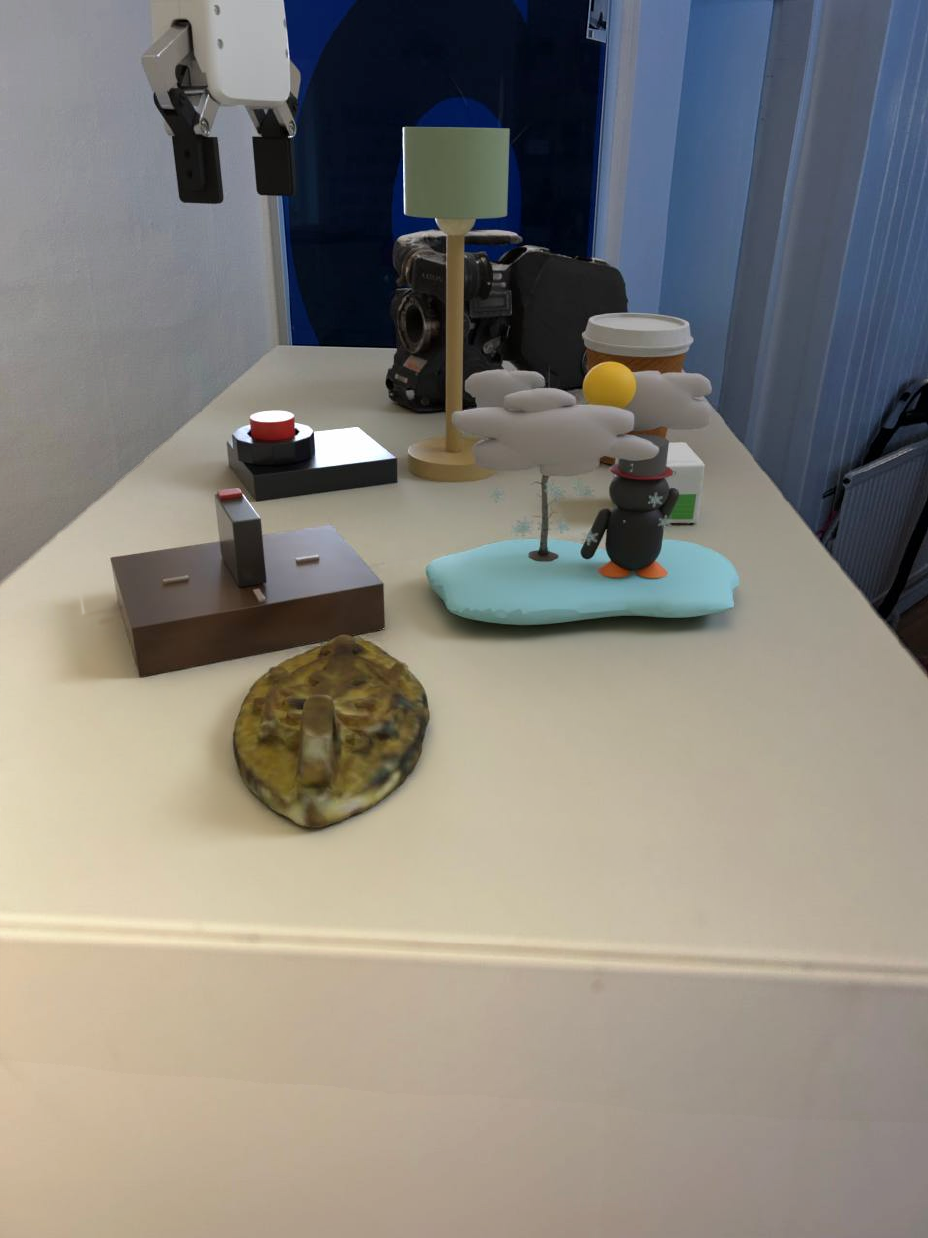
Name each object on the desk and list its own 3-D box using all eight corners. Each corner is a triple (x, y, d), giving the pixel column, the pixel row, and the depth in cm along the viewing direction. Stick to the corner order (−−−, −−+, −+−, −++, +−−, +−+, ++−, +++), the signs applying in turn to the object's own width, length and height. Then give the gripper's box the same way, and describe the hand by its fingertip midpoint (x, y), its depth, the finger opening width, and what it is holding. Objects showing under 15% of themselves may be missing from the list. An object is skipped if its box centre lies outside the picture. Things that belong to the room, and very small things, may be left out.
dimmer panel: (139, 677, 50) (130, 625, 49) (117, 601, 58) (109, 554, 57) (385, 629, 55) (383, 581, 54) (334, 565, 63) (331, 521, 62)
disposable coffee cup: (608, 478, 80) (621, 334, 75) (555, 447, 88) (563, 315, 83) (700, 465, 84) (718, 327, 78) (641, 436, 91) (654, 309, 86)
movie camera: (422, 427, 90) (423, 231, 83) (349, 395, 104) (345, 225, 97) (669, 404, 105) (688, 235, 97) (576, 378, 119) (587, 229, 112)
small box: (625, 526, 70) (631, 463, 68) (610, 499, 76) (615, 440, 73) (699, 525, 71) (708, 463, 69) (679, 499, 76) (686, 440, 74)
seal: (261, 673, 53) (217, 852, 39) (243, 598, 51) (191, 760, 37) (425, 652, 53) (437, 824, 40) (415, 577, 51) (424, 731, 37)
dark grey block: (267, 583, 54) (260, 514, 52) (239, 588, 53) (231, 518, 51) (247, 551, 58) (240, 486, 56) (221, 555, 57) (213, 489, 55)
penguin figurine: (713, 562, 65) (747, 337, 58) (765, 635, 55) (813, 377, 48) (424, 565, 64) (422, 336, 57) (427, 640, 54) (425, 377, 47)
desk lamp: (429, 487, 78) (427, 126, 65) (394, 460, 84) (387, 126, 72) (514, 475, 81) (528, 128, 68) (475, 449, 87) (481, 128, 75)
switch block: (252, 502, 74) (247, 453, 72) (225, 465, 82) (221, 420, 80) (397, 483, 78) (396, 436, 77) (359, 450, 87) (357, 407, 85)
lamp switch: (257, 445, 75) (255, 424, 75) (247, 433, 78) (245, 412, 77) (300, 440, 77) (299, 419, 76) (289, 428, 80) (287, 408, 79)
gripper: (239, -68, 68) (260, 191, 76) (71, -123, 53) (119, 204, 61) (331, -74, 66) (343, 194, 73) (182, -133, 51) (217, 208, 59)
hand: (241, 198), depth 67 cm, fingers open, 9 cm apart
